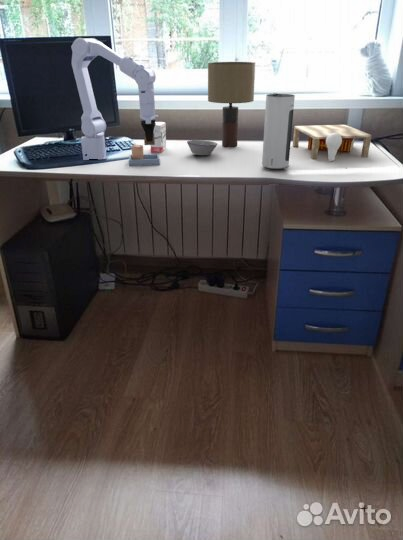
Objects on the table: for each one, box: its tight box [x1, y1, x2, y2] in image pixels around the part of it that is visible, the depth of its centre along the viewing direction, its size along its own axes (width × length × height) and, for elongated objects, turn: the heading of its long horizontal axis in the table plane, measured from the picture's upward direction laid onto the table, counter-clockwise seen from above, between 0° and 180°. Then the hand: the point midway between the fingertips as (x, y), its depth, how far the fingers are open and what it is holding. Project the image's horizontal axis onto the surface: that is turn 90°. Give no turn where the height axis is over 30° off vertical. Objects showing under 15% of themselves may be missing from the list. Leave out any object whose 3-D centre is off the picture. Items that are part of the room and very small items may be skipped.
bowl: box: [186, 139, 219, 156], centre depth 180 cm, size 13×13×5 cm
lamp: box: [207, 61, 256, 148], centre depth 189 cm, size 20×20×35 cm
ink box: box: [150, 121, 167, 154], centre depth 186 cm, size 9×5×12 cm, turn 168°
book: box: [307, 136, 356, 153], centre depth 191 cm, size 18×13×5 cm
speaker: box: [261, 92, 296, 170], centre depth 159 cm, size 11×10×26 cm
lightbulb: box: [326, 133, 342, 162], centre depth 167 cm, size 6×6×11 cm
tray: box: [128, 153, 161, 167], centre depth 170 cm, size 12×9×2 cm
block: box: [143, 132, 155, 146], centre depth 166 cm, size 4×4×4 cm
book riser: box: [292, 124, 372, 160], centre depth 184 cm, size 24×26×9 cm
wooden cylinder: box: [130, 144, 145, 160], centre depth 169 cm, size 5×5×6 cm
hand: (149, 140), depth 167 cm, fingers closed on block, 4 cm apart
